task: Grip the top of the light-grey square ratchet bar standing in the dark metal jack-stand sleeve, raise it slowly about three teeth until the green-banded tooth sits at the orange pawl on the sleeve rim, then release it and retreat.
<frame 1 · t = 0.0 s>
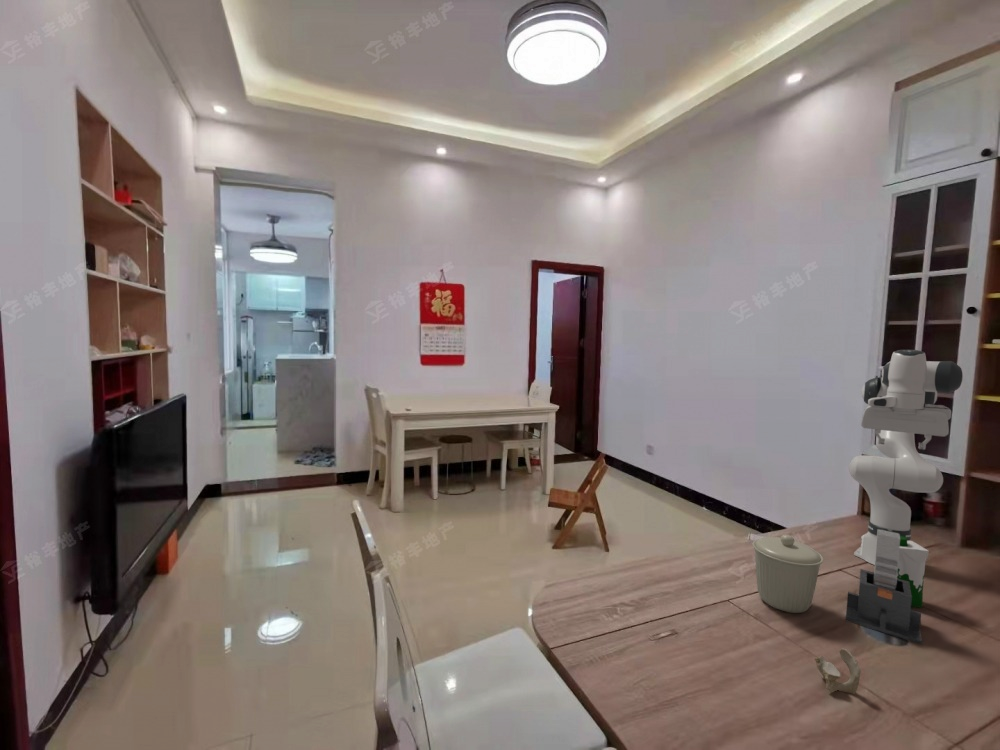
hand: (901, 446, 140), 48 cm above the table, fingers open, 8 cm apart
stand: (881, 619, 130), on the table
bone: (833, 687, 103), on the table
milk carton: (901, 600, 141), on the table
column: (885, 575, 129), point 13 cm above the table, slide at 0.0 cm
canister: (783, 604, 137), on the table
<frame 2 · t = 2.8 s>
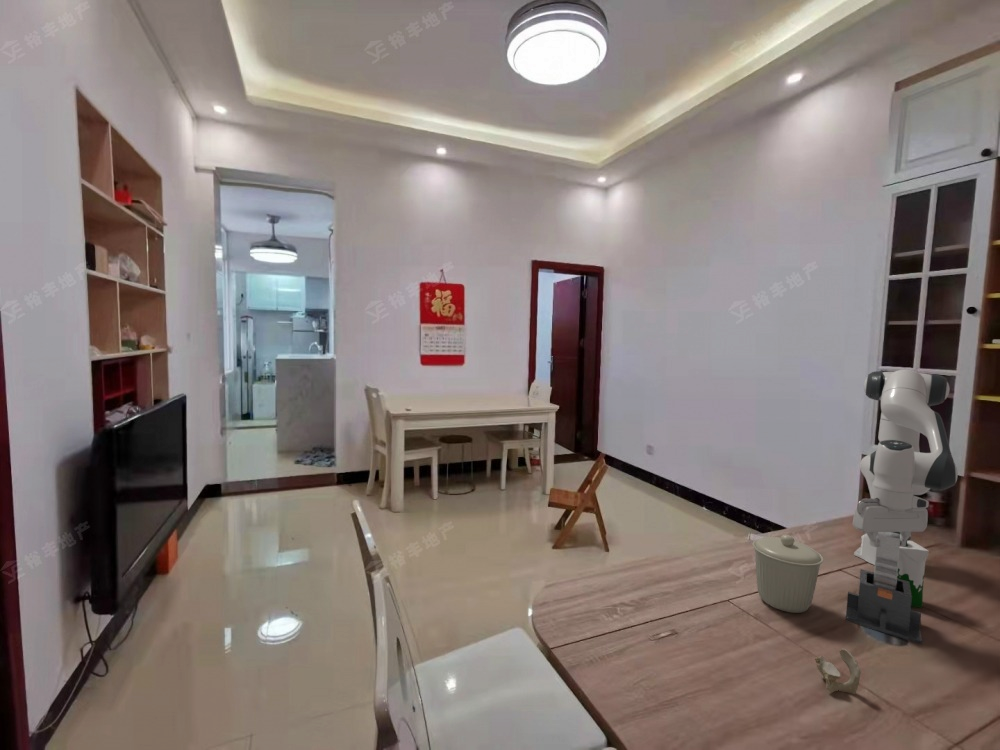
hand: (887, 545, 129), 22 cm above the table, fingers closed on column, 7 cm apart
column: (885, 575, 129), point 13 cm above the table, slide at -0.1 cm, touching gripper
everything else where it was.
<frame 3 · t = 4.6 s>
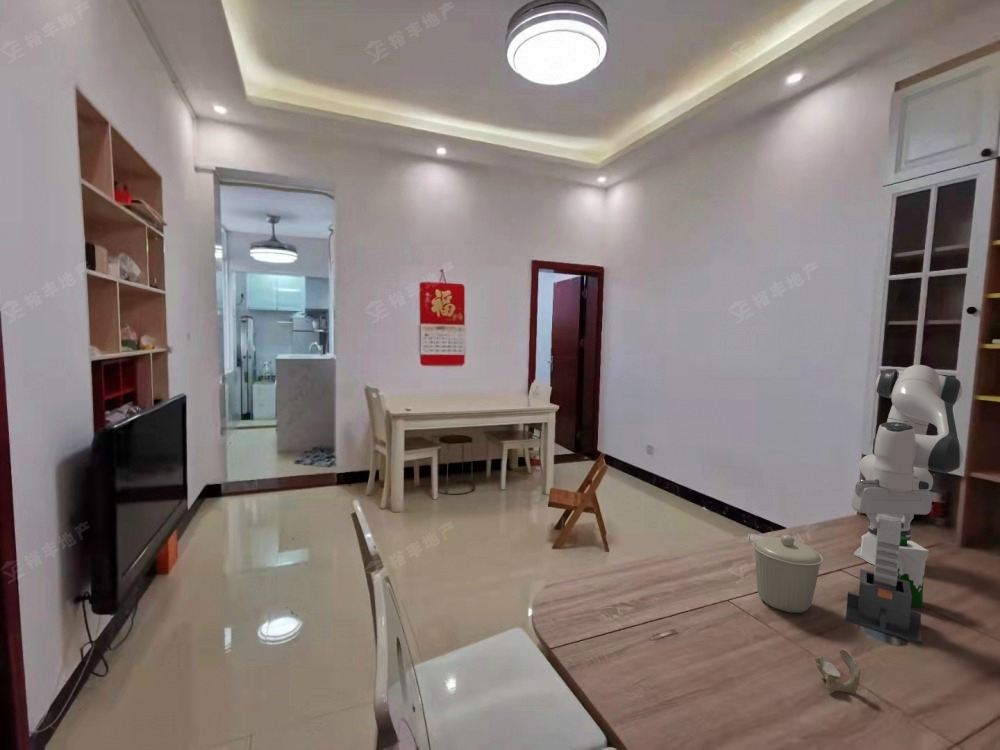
hand: (888, 528, 129), 27 cm above the table, fingers closed on column, 7 cm apart
column: (886, 560, 129), point 18 cm above the table, slide at 4.4 cm, touching gripper
everything else where it was.
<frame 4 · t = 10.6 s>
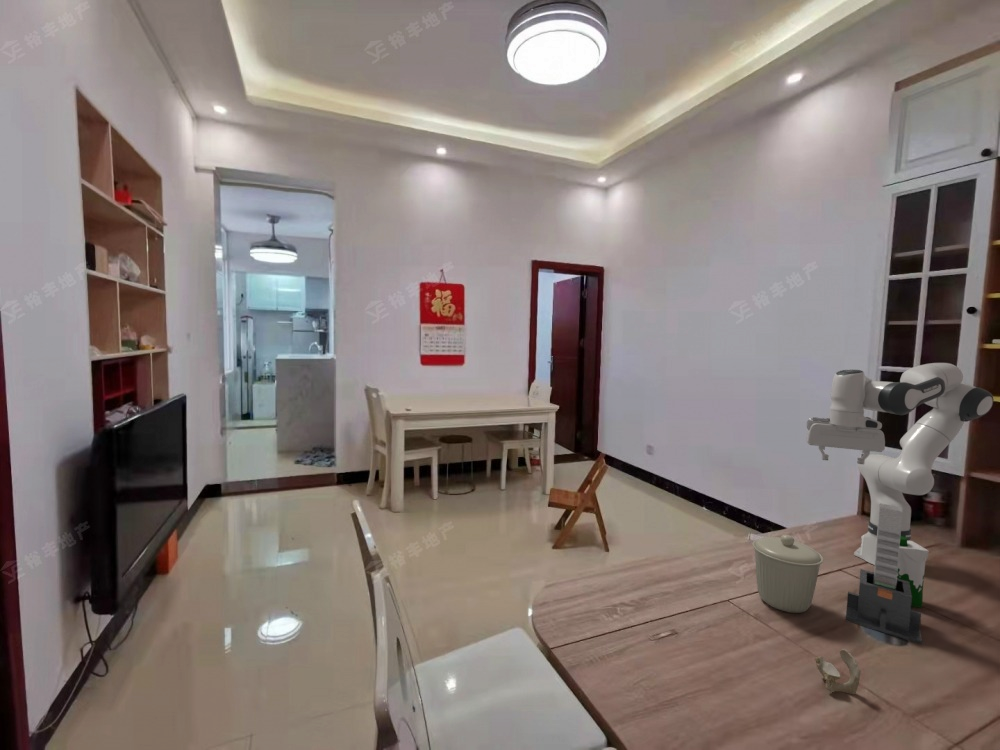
hand: (842, 461, 147), 41 cm above the table, fingers open, 8 cm apart
column: (887, 549, 129), point 21 cm above the table, slide at 7.6 cm
everything else where it was.
at the end: column slide at 7.6 cm; the gripper is holding nothing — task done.
